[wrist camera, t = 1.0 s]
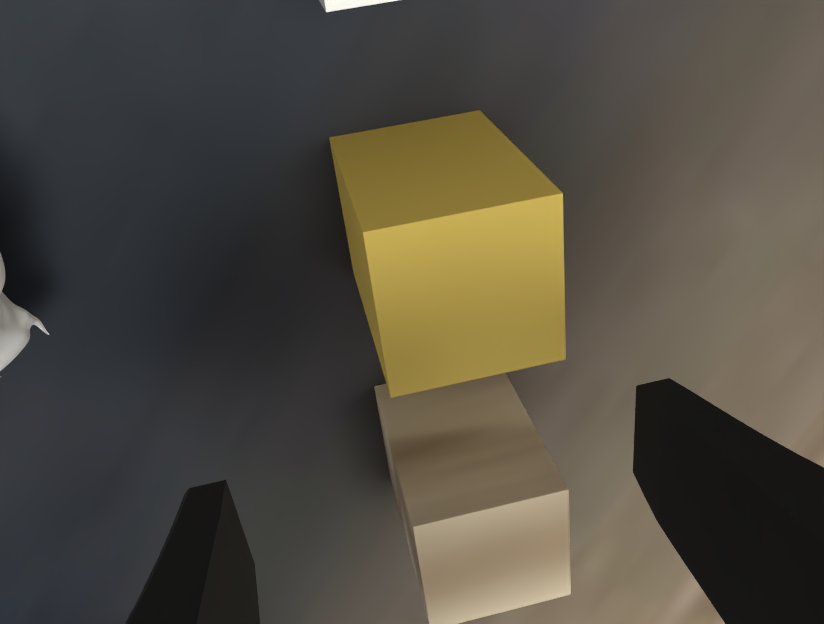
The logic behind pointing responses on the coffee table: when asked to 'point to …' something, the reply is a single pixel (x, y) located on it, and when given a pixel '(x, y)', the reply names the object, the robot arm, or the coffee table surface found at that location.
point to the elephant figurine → (13, 325)
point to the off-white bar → (348, 4)
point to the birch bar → (476, 499)
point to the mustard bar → (452, 250)
